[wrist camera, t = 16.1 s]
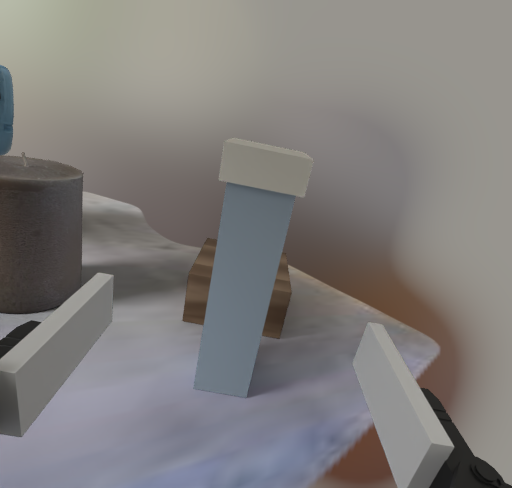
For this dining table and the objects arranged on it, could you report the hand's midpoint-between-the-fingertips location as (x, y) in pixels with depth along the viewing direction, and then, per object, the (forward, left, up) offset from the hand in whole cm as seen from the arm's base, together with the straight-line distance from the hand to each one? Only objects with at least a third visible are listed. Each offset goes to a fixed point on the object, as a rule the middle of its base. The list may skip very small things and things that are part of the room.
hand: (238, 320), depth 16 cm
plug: (+5, +8, -12) cm, 15 cm away
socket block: (+11, +18, -12) cm, 25 cm away
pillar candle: (-10, +26, -13) cm, 31 cm away
